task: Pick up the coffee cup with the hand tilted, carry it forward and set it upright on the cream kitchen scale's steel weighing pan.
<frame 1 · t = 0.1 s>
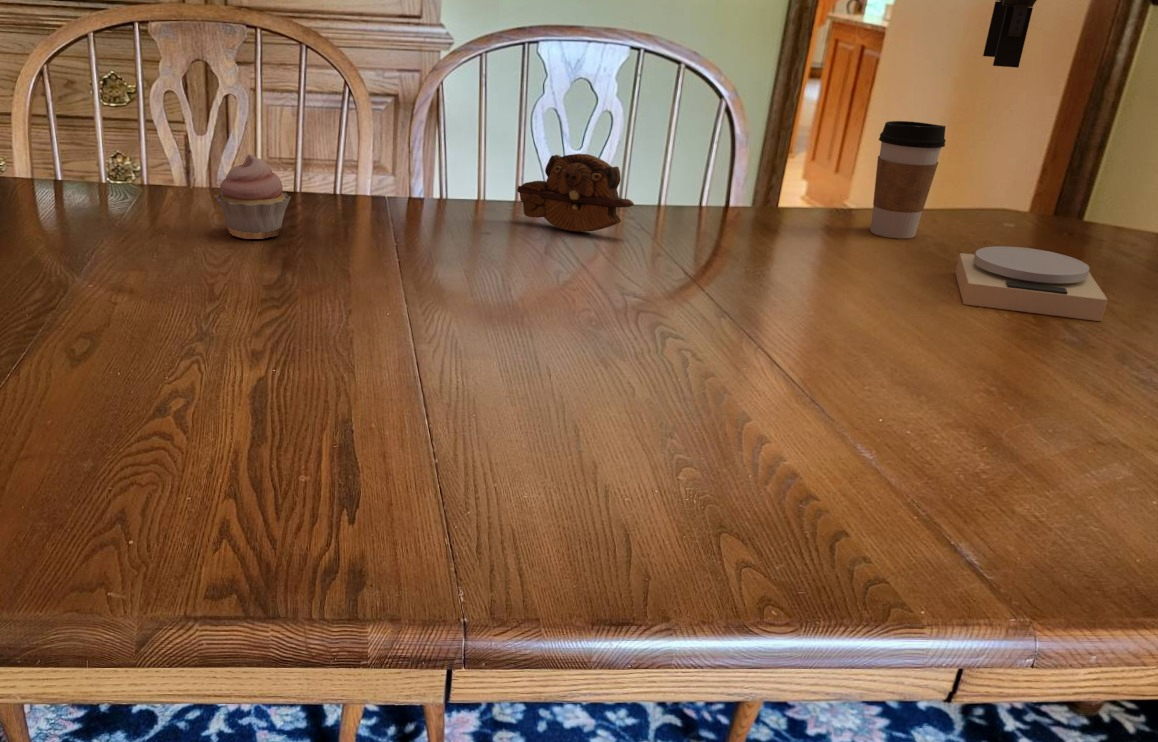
hand: (999, 61, 135), 24 cm above the table, tool pointing down, fingers open, 13 cm apart
cupcake: (254, 236, 139), on the table
wooden carving: (571, 232, 147), on the table
kitchen scale: (1023, 295, 127), on the table
coffee cup: (892, 234, 153), on the table
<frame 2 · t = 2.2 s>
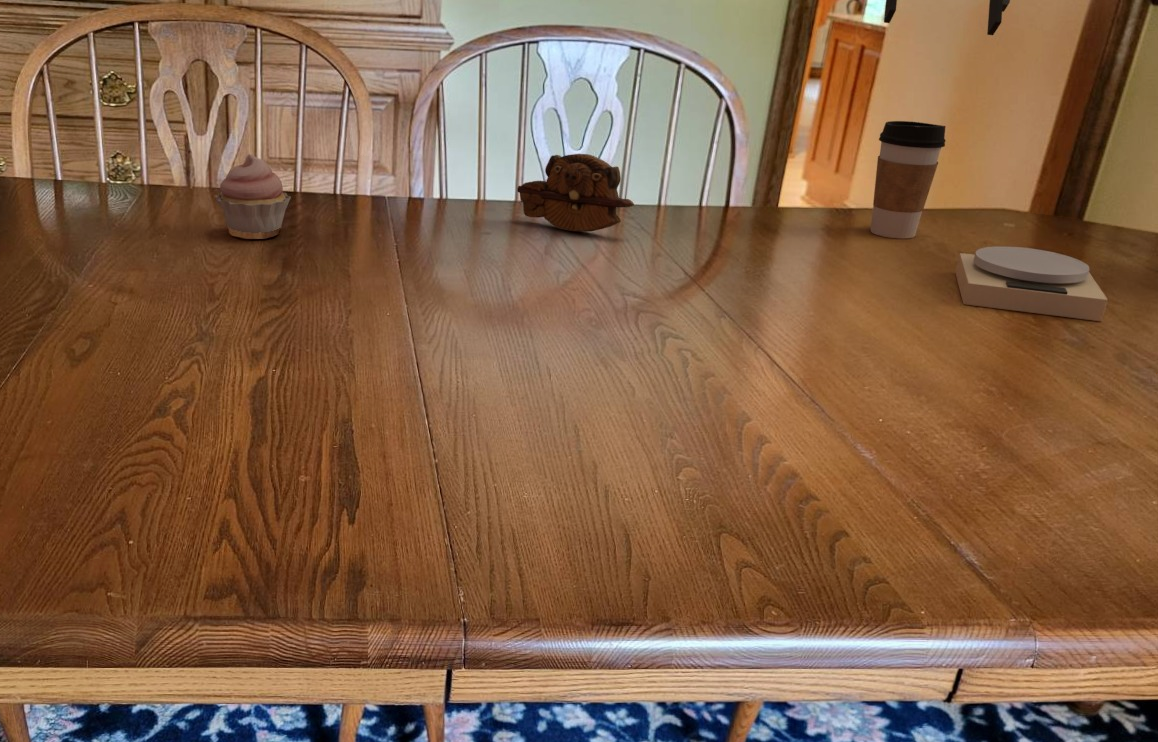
hand: (941, 22, 147), 27 cm above the table, tool tilted 40°, fingers open, 13 cm apart
nothing on the table moved.
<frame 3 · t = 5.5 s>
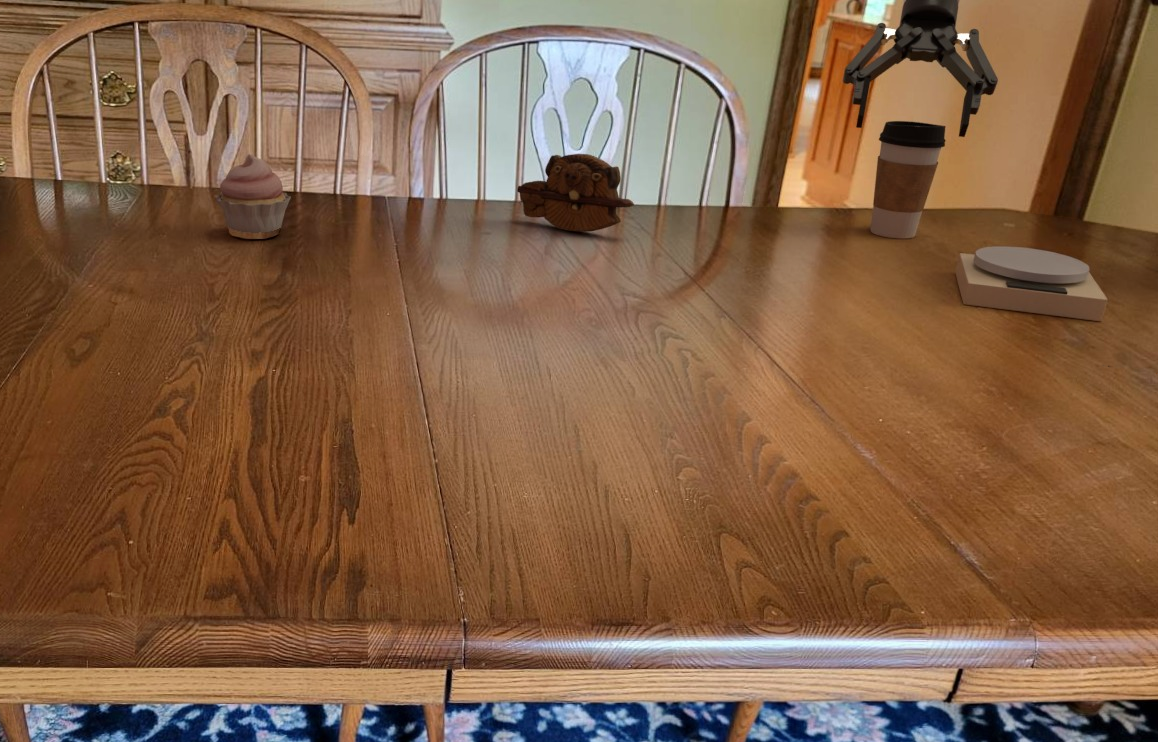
hand: (911, 126, 153), 14 cm above the table, tool tilted 45°, fingers open, 13 cm apart
nothing on the table moved.
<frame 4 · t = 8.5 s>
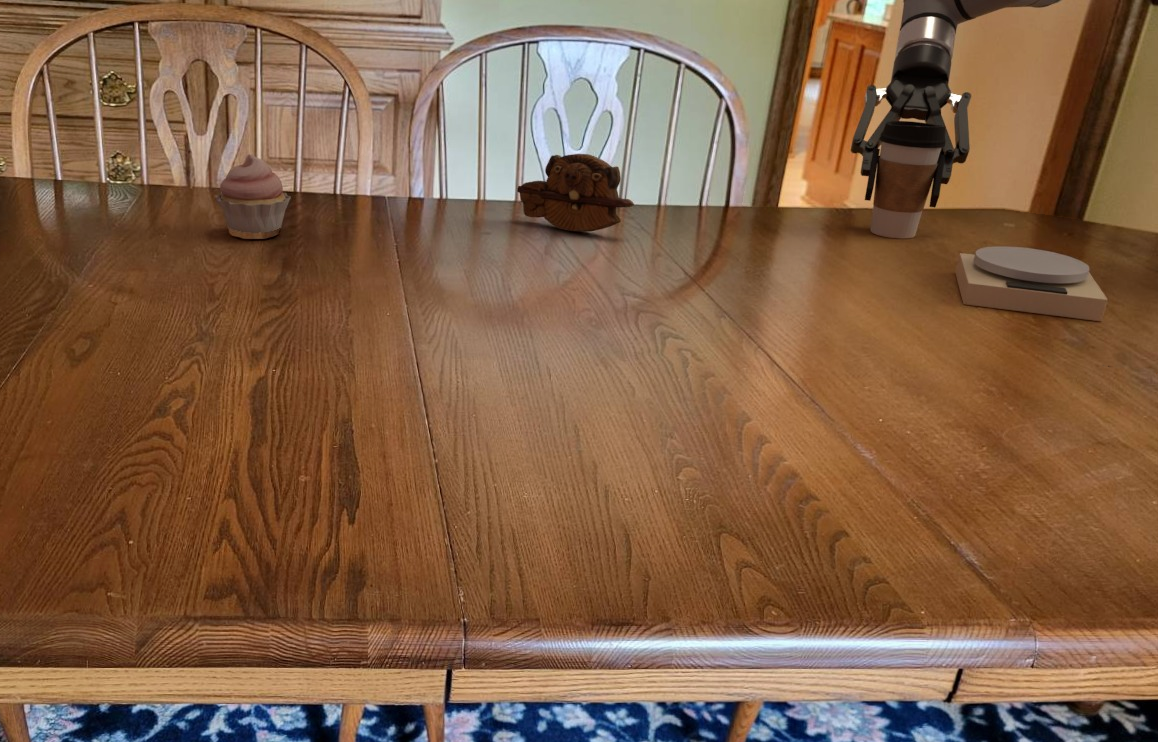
hand: (901, 197, 147), 6 cm above the table, tool tilted 45°, fingers closed on coffee cup, 8 cm apart
coffee cup: (892, 234, 153), on the table, touching gripper
everything else where it was.
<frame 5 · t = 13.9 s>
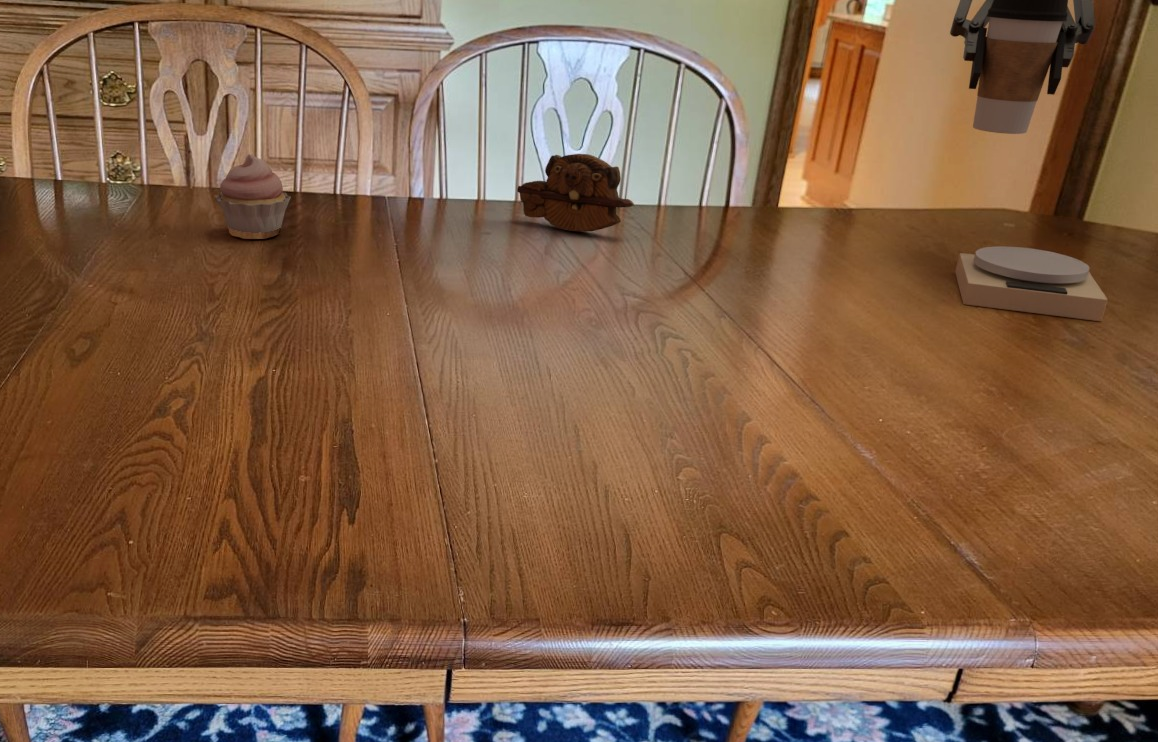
hand: (1014, 83, 125), 22 cm above the table, tool tilted 45°, fingers closed on coffee cup, 8 cm apart
coffee cup: (999, 131, 131), point 17 cm above the table, touching gripper
everything else where it was.
when the fingers open (10 cm above the table, at t = 19.2 s): coffee cup stays where it is, resting on kitchen scale.
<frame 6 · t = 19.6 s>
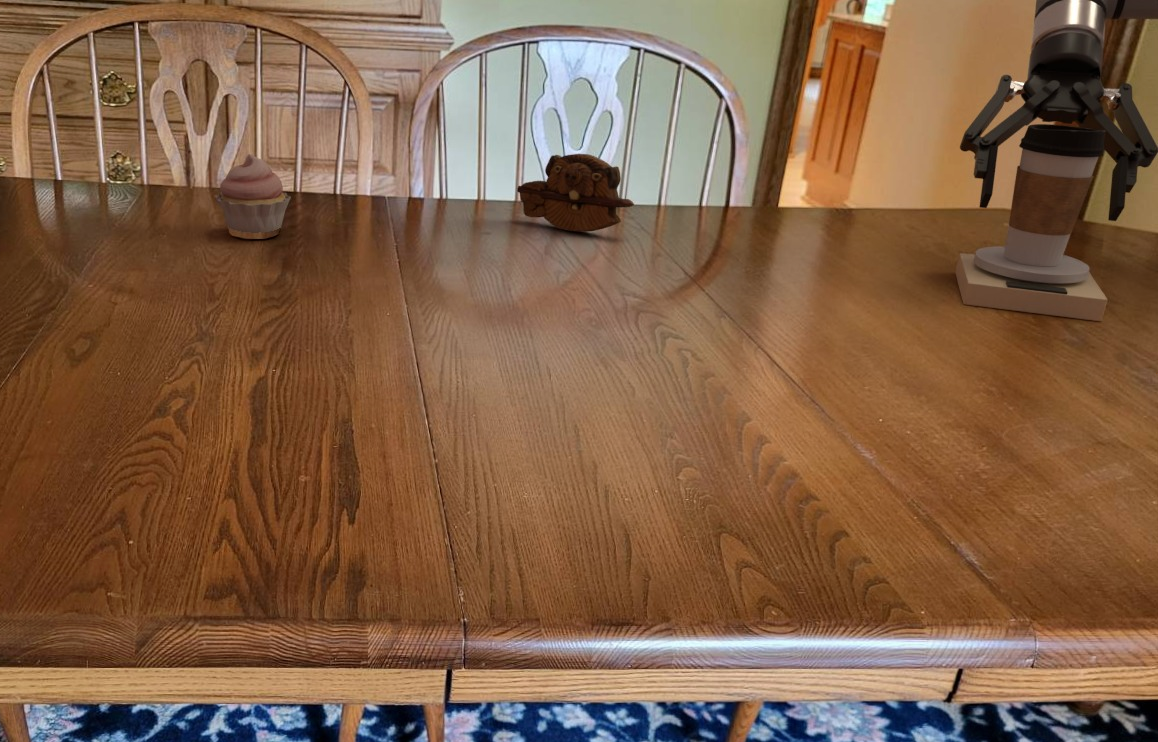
hand: (1050, 207, 122), 11 cm above the table, tool tilted 45°, fingers open, 12 cm apart
coffee cup: (1031, 261, 127), point 4 cm above the table, touching kitchen scale
everything else where it was.
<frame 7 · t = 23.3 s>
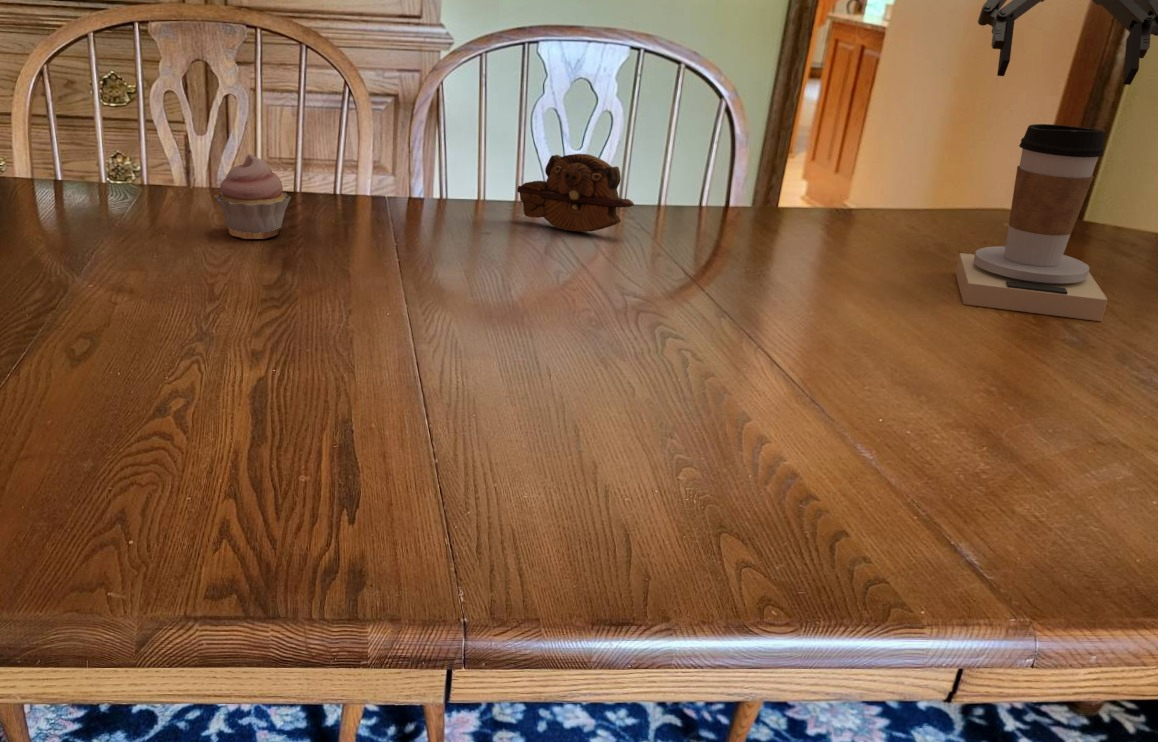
hand: (1066, 72, 129), 23 cm above the table, tool tilted 45°, fingers open, 13 cm apart
nothing on the table moved.
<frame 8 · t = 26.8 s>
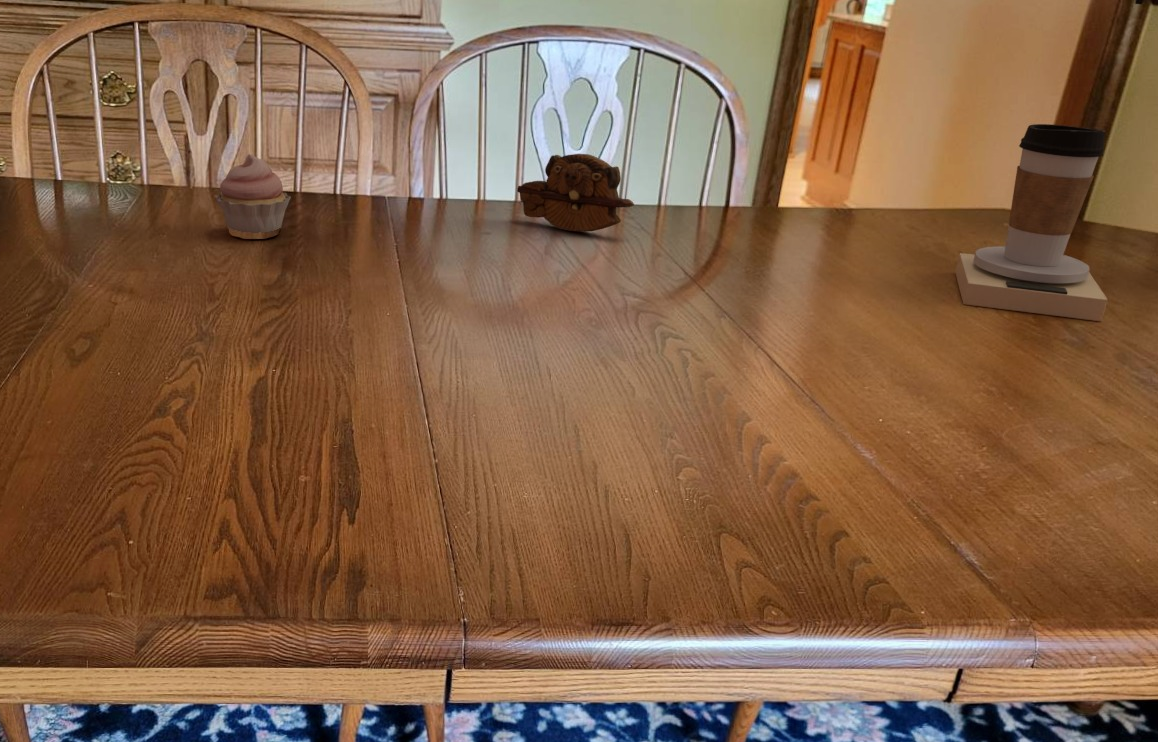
nothing on the table moved.
at the end: coffee cup inside the target area on the kitchen scale (0.0 cm from its centre), point 3.8 cm above the kitchen scale's base; coffee cup tilted 0°; the gripper is holding nothing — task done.
